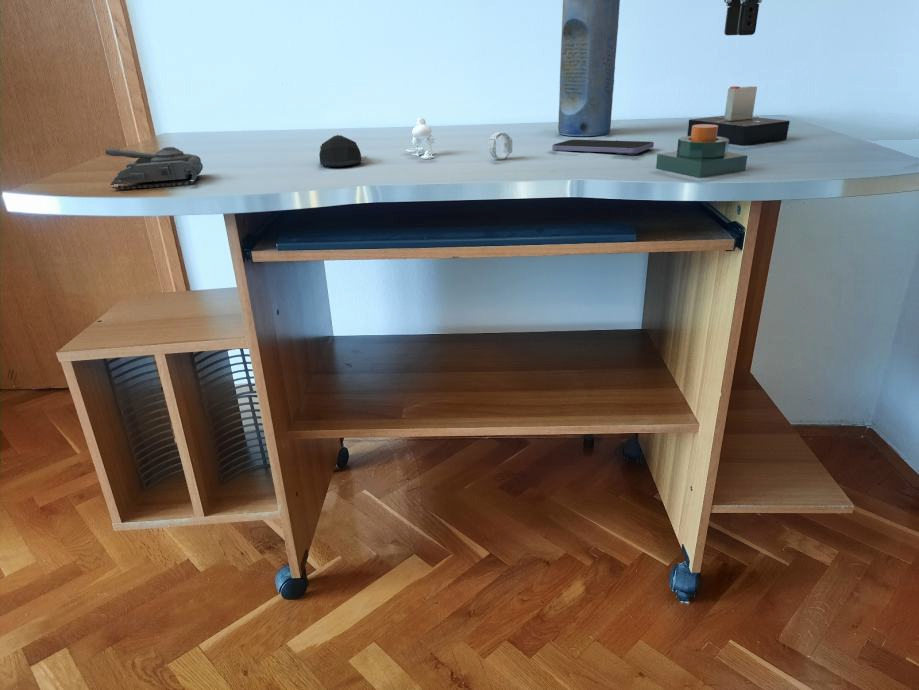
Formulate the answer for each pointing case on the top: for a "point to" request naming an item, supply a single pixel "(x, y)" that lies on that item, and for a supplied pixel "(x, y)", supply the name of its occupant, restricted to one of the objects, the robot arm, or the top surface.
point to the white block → (740, 103)
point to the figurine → (422, 138)
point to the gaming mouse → (339, 152)
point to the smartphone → (604, 146)
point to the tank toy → (157, 168)
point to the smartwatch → (506, 145)
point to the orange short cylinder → (704, 132)
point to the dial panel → (746, 129)
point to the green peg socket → (701, 158)
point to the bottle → (587, 66)
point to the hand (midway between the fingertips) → (738, 35)
